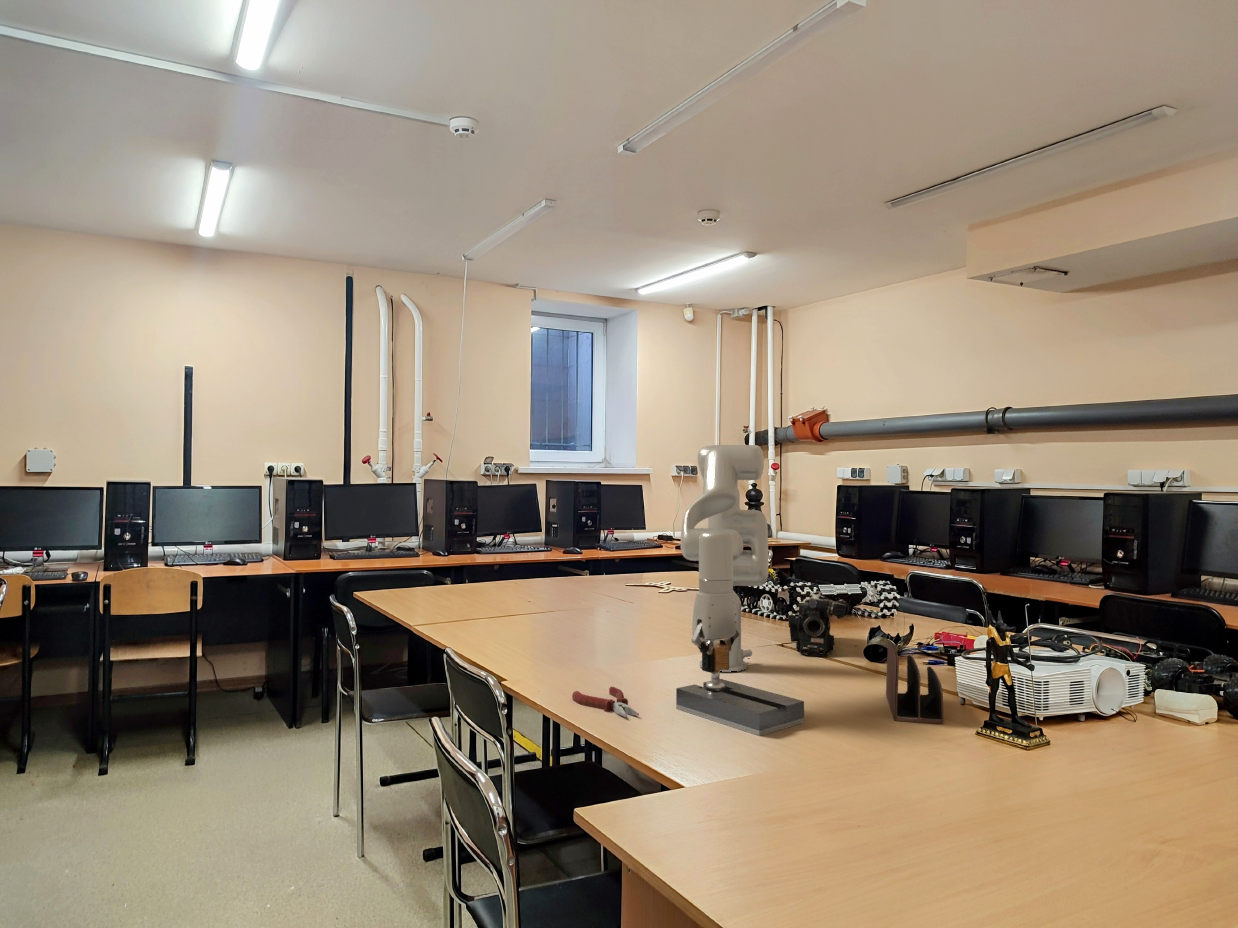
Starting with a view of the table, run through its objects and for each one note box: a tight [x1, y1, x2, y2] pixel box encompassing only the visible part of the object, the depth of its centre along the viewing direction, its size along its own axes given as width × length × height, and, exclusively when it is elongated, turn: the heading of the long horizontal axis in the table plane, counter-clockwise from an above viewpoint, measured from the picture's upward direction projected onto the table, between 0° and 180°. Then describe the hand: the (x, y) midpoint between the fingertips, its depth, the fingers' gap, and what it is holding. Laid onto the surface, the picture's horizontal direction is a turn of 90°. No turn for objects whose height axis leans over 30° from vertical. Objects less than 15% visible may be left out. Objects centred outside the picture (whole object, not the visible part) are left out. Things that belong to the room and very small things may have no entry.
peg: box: [706, 643, 729, 691], centre depth 180 cm, size 4×4×10 cm
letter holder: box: [885, 641, 945, 725], centre depth 180 cm, size 10×20×14 cm, turn 167°
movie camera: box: [787, 591, 851, 657], centre depth 244 cm, size 31×18×18 cm, turn 160°
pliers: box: [571, 686, 640, 719], centre depth 180 cm, size 12×20×3 cm, turn 27°
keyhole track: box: [675, 678, 805, 737], centre depth 174 cm, size 14×24×4 cm, turn 39°
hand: (715, 669), depth 180 cm, fingers closed on peg, 4 cm apart
